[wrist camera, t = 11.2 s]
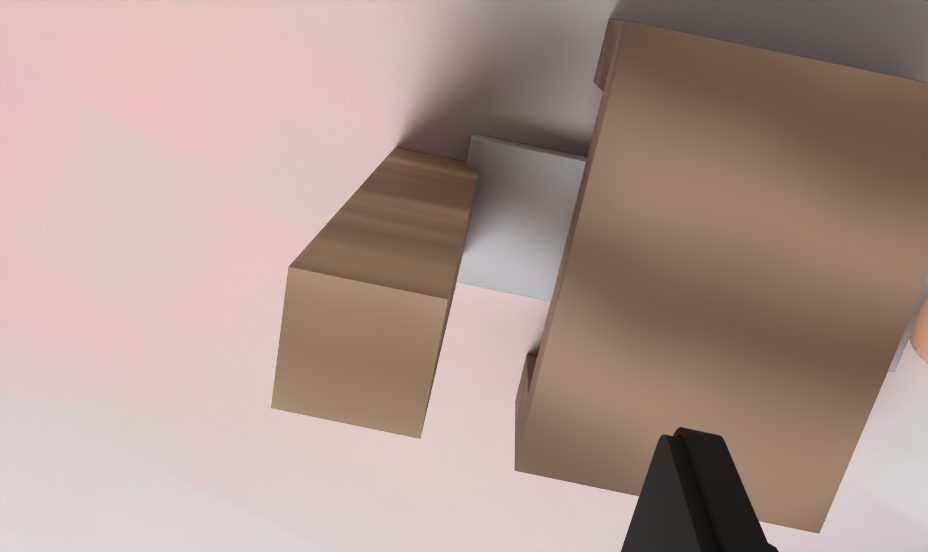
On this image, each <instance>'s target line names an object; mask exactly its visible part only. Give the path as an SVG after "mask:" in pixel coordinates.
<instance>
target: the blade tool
mask: <svg viewBox="0 0 928 552" xmlns="http://www.w3.org/2000/svg"><path fill="white" fill-rule="evenodd" d="M586 160H587V157H585V156H580V155H575V154H571V153H566V152H561V151H556V150H551V149H546V148H541V147H536V146H532V145H527V144H522V143H517V142H512V141H507V140H502V139H498V138H493V137H488V136H483V135H478V134H473V133H472V136H471V139H470V144H469V149H468V155H467V160H466V162H464V161H459V160H454V159H449V158H444V157H439V156H435V155H430V154H425V153H420V152H415V151H410V150H405V149H400V148H396V147H395V148H394V150H393V151H392V152H391V153H390V154H389V155H388V156H387V157H386V158H385V160H384V161H383V162H382V163H381V164H380V165H379V166H378V167H377V169H376V170H375V171H374V172H373V173H372V174H371V175H370V176H369V177H368V179H367V180H366V181H365V182H364V183H363V184H362V185H361V186H360V188H359V189H358V190H357V191H356V192H355V193H354V194H353V195H352V196H351V198H350V199H349V200H348V201H347V202H346V203H345V204H344V205H343V207H342V208H341V209H340V210H339V211H338V212H337V213H336V214H335V215H334V217H333V218H332V219H331V220H330V221H329V222H328V223H327V224H326V226H325V227H324V228H323V229H322V230H321V231H320V232H319V233H318V235H317V236H316V237H315V238H314V239H313V240H312V241H311V242H310V243H309V245H308V246H307V247H306V248H305V249H304V250H303V251H302V252H301V254H300V255H299V256H298V257H297V258H296V259H295V260H294V261H293V262H292V264H291V265H290V266H289V267H288V275H287V284H286V292H285V300H284V308H283V316H282V324H281V332H280V340H279V349H278V357H277V365H276V373H275V381H274V389H273V397H272V405H271V408H273V409H278V410H283V411H288V412H293V413H298V414H303V415H307V416H312V417H317V418H322V419H327V420H332V421H337V422H341V423H346V424H351V425H356V426H361V427H366V428H371V429H376V430H380V431H385V432H390V433H395V434H400V435H405V436H410V437H414V438H419V439H420V438H421V433H422V429H423V425H424V420H425V416H426V412H427V407H428V403H429V399H430V394H431V390H432V386H433V381H434V377H435V373H436V368H437V364H438V360H439V355H440V351H441V347H442V342H443V338H444V334H445V329H446V325H447V321H448V316H449V312H450V308H451V303H452V299H453V295H454V290H455V286H456V282H458V283H462V284H467V285H472V286H477V287H482V288H487V289H492V290H497V291H501V292H506V293H511V294H516V295H521V296H526V297H531V298H535V299H540V300H545V301H550V302H551V300H552V296H553V292H554V288H555V284H556V280H557V276H558V272H559V268H560V264H561V260H562V256H563V252H564V248H565V244H566V240H567V236H568V232H569V228H570V224H571V220H572V216H573V212H574V208H575V204H576V200H577V196H578V192H579V188H580V184H581V180H582V176H583V172H584V168H585V164H586ZM927 294H928V277H927V279H926V282H925V284H924V287H923V289H922V291H921V294H920V296H919V298H918V301H917V303H916V306H915V308H914V310H913V313H912V315H911V317H910V320H909V322H908V324H907V327H906V329H905V332H904V334H903V336H902V339H901V341H900V343H899V346H898V348H897V351H896V353H895V355H894V358H893V360H892V362H891V365H890V367H889V369H888V371H891V372H895V370H896V367H897V365H898V363H899V360H900V358H901V356H902V353H903V351H904V348H905V346H906V344H907V341H908V339H909V337H910V334H911V332H912V330H913V327H914V325H915V323H916V320H917V318H918V315H919V313H920V311H921V308H922V306H923V304H924V301H925V299H926V297H927Z"/></svg>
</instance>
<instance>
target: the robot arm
mask: <svg viewBox="0 0 928 552" xmlns="http://www.w3.org/2000/svg"><path fill="white" fill-rule="evenodd" d="M621 552H778V550H777V548H776V547H774V546H772V545H771V544H768V542H767V540H766V537H765V535H764V533H763V530H762V528H761V526H760V523H759V521H758V519H757V516H756V514H755V511H754V509H753V507H752V504H751V502H750V500H749V497H748V495H747V493H746V490H745V488H744V485H743V483H742V481H741V478H740V476H739V474H738V471H737V469H736V466H735V464H734V462H733V459H732V457H731V455H730V452H729V450H728V448H727V445H726V443H725V440H724V439H723V437H722V436H720V435H716V434H712V433H707V432H702V431H697V430H693V429H688V428H683V427H679V428H678V429H676V431H675V432H674V434H673V436H670V435H665V434H663V435H661V437H660V438H659V440H658V443H657V445H656V448H655V451H654V454H653V457H652V460H651V463H650V466H649V469H648V472H647V475H646V478H645V481H644V484H643V487H642V490H641V493H640V496H639V499H638V502H637V505H636V508H635V511H634V514H633V517H632V520H631V523H630V526H629V529H628V532H627V535H626V538H625V541H624V544H623V547H622V550H621Z"/></svg>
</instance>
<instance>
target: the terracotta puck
mask: <svg viewBox="0 0 928 552" xmlns="http://www.w3.org/2000/svg"><path fill="white" fill-rule="evenodd" d="M909 340H910V343H911V344H912V346H913V348H914V350H915V351H916V352H917V353H918V355H919V356H920V357H921V358H922V359H924V360H925V361H926V362H927V363H928V294H927V297H926V299H925V301H924V304H923V306H922V308H921V311H920V313H919V315H918V318H917V320H916V323H915V325H914V327H913V330H912V332H911V334H910V337H909Z"/></svg>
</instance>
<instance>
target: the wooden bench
mask: <svg viewBox="0 0 928 552" xmlns="http://www.w3.org/2000/svg"><path fill="white" fill-rule="evenodd" d="M594 83H595V84H596V85H597V86H598V87H599V88H600V89H601V90H602V91H603V96H602V100H601V104H600V108H599V112H598V116H597V120H596V124H595V128H594V132H593V136H592V140H591V144H590V148H589V152H588V156H587V160H586V164H585V168H584V172H583V176H582V180H581V184H580V188H579V192H578V196H577V200H576V204H575V208H574V212H573V216H572V220H571V224H570V228H569V232H568V236H567V240H566V244H565V248H564V252H563V256H562V260H561V264H560V268H559V272H558V276H557V280H556V284H555V288H554V292H553V296H552V300H551V304H550V308H549V312H548V316H547V320H546V324H545V328H544V332H543V336H542V340H541V344H540V348H539V352H538V356H536V355H531V354H527V356H526V360H525V364H524V368H523V372H522V376H521V380H520V384H519V388H518V393H517V397H516V401H515V471H520V472H525V473H529V474H534V475H539V476H544V477H549V478H553V479H558V480H563V481H568V482H573V483H578V484H582V485H587V486H592V487H597V488H602V489H607V490H611V491H616V492H621V493H626V494H631V495H636V496H640V493H641V490H642V487H643V484H644V481H645V478H646V475H647V472H648V469H649V466H650V463H651V460H652V457H653V454H654V451H655V448H656V445H657V443H658V440H659V438H660V437H661V435H663V434H665V435H670V436H673V434H674V432H675V431H676V429H678V428H679V427H683V428H688V429H693V430H697V431H702V432H707V433H712V434H716V435H720V436H722V437H723V439H724V440H725V443H726V445H727V448H728V450H729V452H730V455H731V457H732V459H733V462H734V464H735V466H736V469H737V471H738V474H739V476H740V478H741V481H742V483H743V485H744V488H745V490H746V493H747V495H748V497H749V500H750V502H751V504H752V507H753V509H754V511H755V514H756V516H757V519H758V521H761V522H766V523H771V524H776V525H780V526H785V527H790V528H795V529H800V530H805V531H809V532H814V533H820V530H821V528H822V526H823V523H824V521H825V519H826V516H827V514H828V512H829V509H830V507H831V504H832V502H833V500H834V497H835V495H836V493H837V490H838V488H839V485H840V483H841V481H842V478H843V476H844V474H845V471H846V469H847V467H848V464H849V462H850V459H851V457H852V455H853V452H854V450H855V448H856V445H857V443H858V440H859V438H860V436H861V433H862V431H863V429H864V426H865V424H866V422H867V419H868V417H869V414H870V412H871V410H872V407H873V405H874V403H875V400H876V398H877V396H878V393H879V391H880V388H881V386H882V384H883V381H884V379H885V377H886V374H887V372H888V369H889V367H890V365H891V362H892V360H893V358H894V355H895V353H896V351H897V348H898V346H899V343H900V341H901V339H902V336H903V334H904V332H905V329H906V327H907V324H908V322H909V320H910V317H911V315H912V313H913V310H914V308H915V306H916V303H917V301H918V298H919V296H920V294H921V291H922V289H923V287H924V284H925V282H926V279H927V277H928V83H926V82H922V81H917V80H912V79H907V78H902V77H897V76H893V75H888V74H883V73H878V72H873V71H868V70H864V69H859V68H854V67H849V66H844V65H839V64H834V63H830V62H825V61H820V60H815V59H810V58H805V57H801V56H796V55H791V54H786V53H781V52H776V51H772V50H767V49H762V48H757V47H752V46H747V45H743V44H738V43H733V42H728V41H723V40H718V39H714V38H709V37H704V36H699V35H694V34H689V33H684V32H680V31H675V30H670V29H665V28H660V27H655V26H651V25H646V24H641V23H636V22H631V21H625V20H616V19H609V21H608V25H607V29H606V33H605V37H604V41H603V45H602V49H601V54H600V58H599V62H598V66H597V70H596V74H595V78H594Z"/></svg>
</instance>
